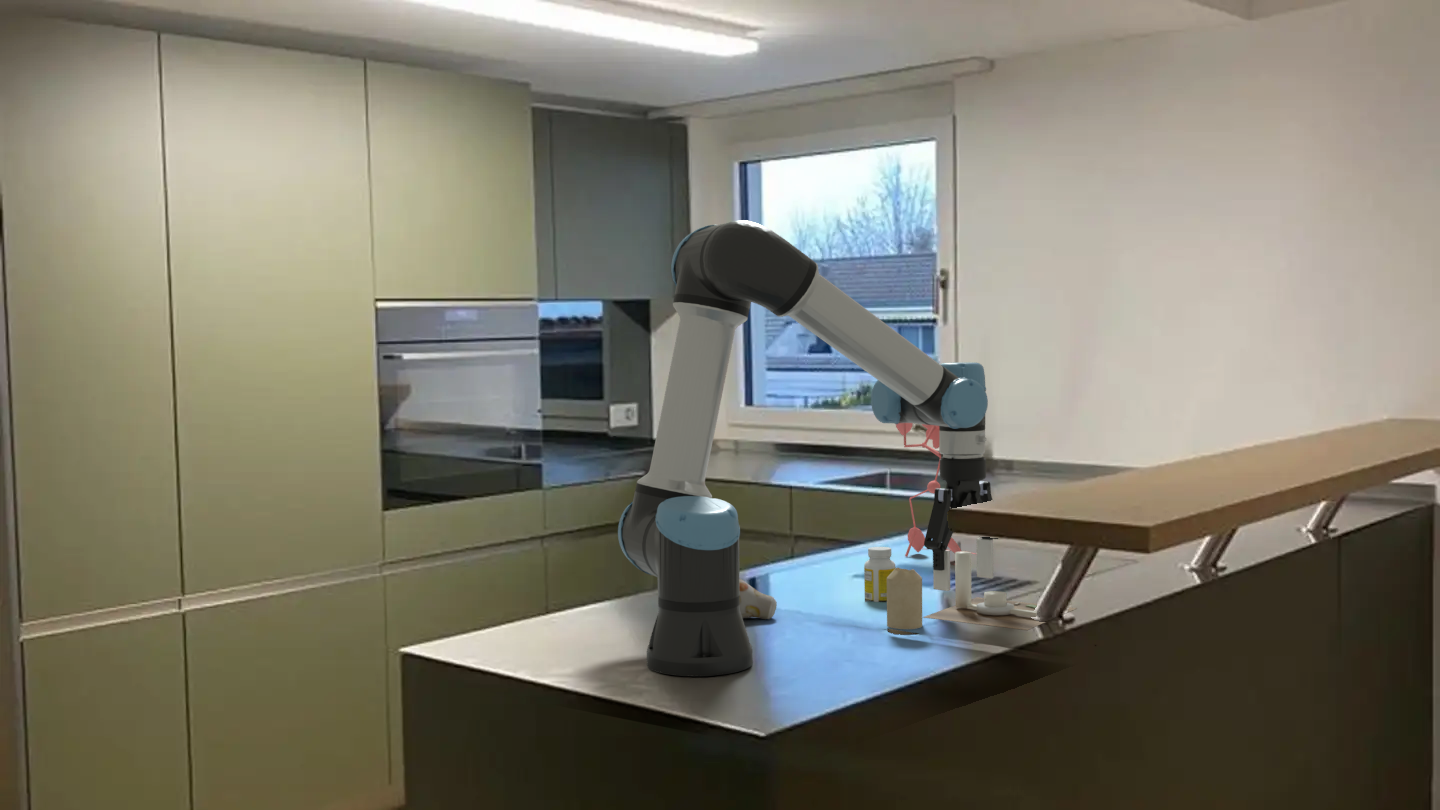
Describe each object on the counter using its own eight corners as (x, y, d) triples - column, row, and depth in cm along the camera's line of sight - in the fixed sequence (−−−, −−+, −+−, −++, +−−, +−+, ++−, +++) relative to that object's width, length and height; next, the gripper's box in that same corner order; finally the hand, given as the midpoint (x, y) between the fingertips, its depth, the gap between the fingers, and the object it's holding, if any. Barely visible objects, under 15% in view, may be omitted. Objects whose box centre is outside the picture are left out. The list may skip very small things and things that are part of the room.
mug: (781, 624, 227) (751, 574, 225) (730, 648, 230) (699, 598, 228) (785, 604, 234) (756, 555, 232) (736, 627, 237) (706, 579, 235)
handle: (947, 609, 230) (946, 554, 229) (966, 603, 234) (965, 549, 234) (1027, 620, 220) (1027, 563, 219) (1046, 614, 224) (1045, 558, 224)
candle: (928, 630, 220) (928, 567, 219) (912, 636, 215) (912, 572, 215) (897, 626, 223) (896, 564, 222) (880, 633, 218) (880, 569, 218)
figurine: (962, 568, 276) (964, 391, 275) (876, 552, 297) (877, 388, 296) (1016, 561, 285) (1018, 390, 284) (929, 547, 306) (931, 387, 305)
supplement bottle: (900, 602, 242) (899, 546, 242) (890, 608, 237) (890, 551, 237) (870, 600, 245) (869, 545, 244) (860, 606, 240) (859, 549, 239)
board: (1027, 636, 214) (1027, 628, 214) (922, 623, 225) (922, 615, 225) (1077, 614, 230) (1077, 606, 230) (977, 602, 241) (977, 595, 241)
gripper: (941, 463, 218) (943, 597, 219) (1020, 450, 237) (1021, 574, 238) (901, 461, 223) (902, 592, 224) (981, 449, 242) (982, 570, 243)
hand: (963, 583), depth 231 cm, fingers open, 13 cm apart
